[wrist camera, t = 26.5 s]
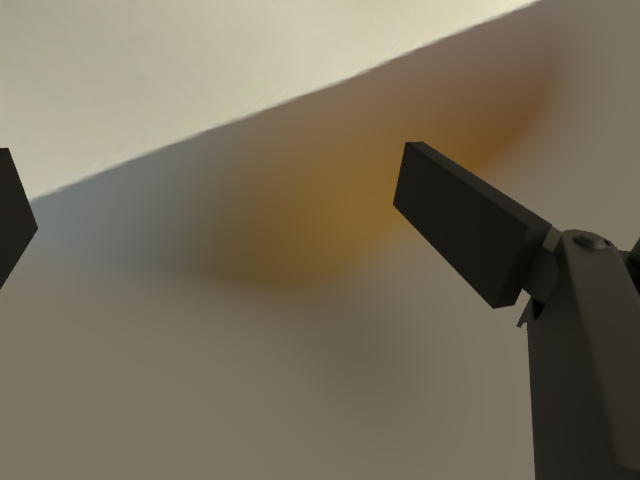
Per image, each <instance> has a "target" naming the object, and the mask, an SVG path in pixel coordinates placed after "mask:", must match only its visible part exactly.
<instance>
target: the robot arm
mask: <svg viewBox="0 0 640 480" xmlns="http://www.w3.org/2000/svg"><path fill="white" fill-rule="evenodd" d="M393 205H394V206H395V207H396V209H398V211H399V212H400V213H401V214H402V215H403V216H404V217H405V218H406V219H407V220H408V221H409V222H410V223H411V224H412V225H413V226H414V227H415V228H416V229H417V230H418V231H419V232H420V233H421V235H423V237H424V238H425V239H426V240H427V241H428V242H429V243H430V244H431V245H432V246H433V247H434V248H435V249H436V250H437V251H438V252H439V253H440V254H441V255H442V256H443V257H444V258H445V259H446V260H447V262H448V263H449V264H450V265H452V267H453V268H455V270H456V271H457V272H458V273H459V274H460V275H461V276H462V277H463V278H464V279H465V280H466V281H467V282H468V283H469V284H470V285H471V286H472V287H473V288H474V290H475V291H477V293H478V294H479V295H480V296H481V297H482V298H483V299H484V300H485V301H486V302H487V303H488V304H489V305H490V306H491V307H492V308H493V309H495V308H500V307H506V306H512V305H514V304H515V303H516V300H517V298H518V296H519V294H520V292H521V290H522V288H523V289H524V290H525V291H526V292H527V293H528V294H529V295H531V297H530V299H529V301H528V303H527V305H526V307H525V309H524V311H523V313H522V315H521V317H520V319H519V321H518V325H517V327H520V328H521V326H522V324H523V323H525V322H527V333H528V352H529V370H530V389H531V408H532V425H533V444H534V463H535V480H640V238H639V240H638V241H637V243H636V244H635V246H634V248H633V249H632V251H631V252H630V251H620V250H618V249H617V248H616V247H615V246H614V244H612V243H611V242H610V241H609V240H607V239H605V238H603V237H600V236H599V235H597V234H594V233H591V232H587V231H582V230H566V231H563V233H562V232H560V231H559V230H557V229H556V228H554V227H553V226H552V224H550V223H549V222H547V221H546V220H544V219H542V218H541V217H539V216H538V215H536V214H535V213H533V212H532V211H530V210H528V209H527V208H525V207H524V206H522V205H521V204H519V203H517V202H516V201H514V200H513V199H511V198H510V197H508V196H506V195H505V194H503V193H502V192H500V191H499V190H497V189H496V188H494V187H492V186H491V185H489V184H488V183H486V182H485V181H483V180H482V179H480V178H479V177H477V176H475V175H474V174H472V173H471V172H469V171H467V170H466V169H464V168H463V167H461V166H460V165H458V164H456V163H455V162H454V161H452V160H450V159H449V158H447V157H446V156H444V155H443V154H441V153H439V152H438V151H436V150H435V149H433V148H431V147H430V146H429V145H427V144H425V143H424V142H406V143H405V148H404V153H403V158H402V163H401V168H400V173H399V178H398V182H397V187H396V192H395V197H394V202H393ZM37 229H38V227H37V224H36V222H35V219H34V216H33V213H32V210H31V208H30V205H29V202H28V199H27V197H26V194H25V191H24V189H23V186H22V183H21V181H20V178H19V175H18V172H17V170H16V167H15V164H14V162H13V159H12V156H11V153H10V151H9V148H0V289H1V287H2V286H3V284H4V283H5V281H6V279H7V278H8V276H9V275H10V273H11V271H12V270H13V268H14V267H15V265H16V263H17V262H18V260H19V259H20V257H21V255H22V253H23V252H24V250H25V249H26V247H27V246H28V244H29V242H30V241H31V239H32V238H33V236H34V234H35V233H36V231H37Z"/></svg>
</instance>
